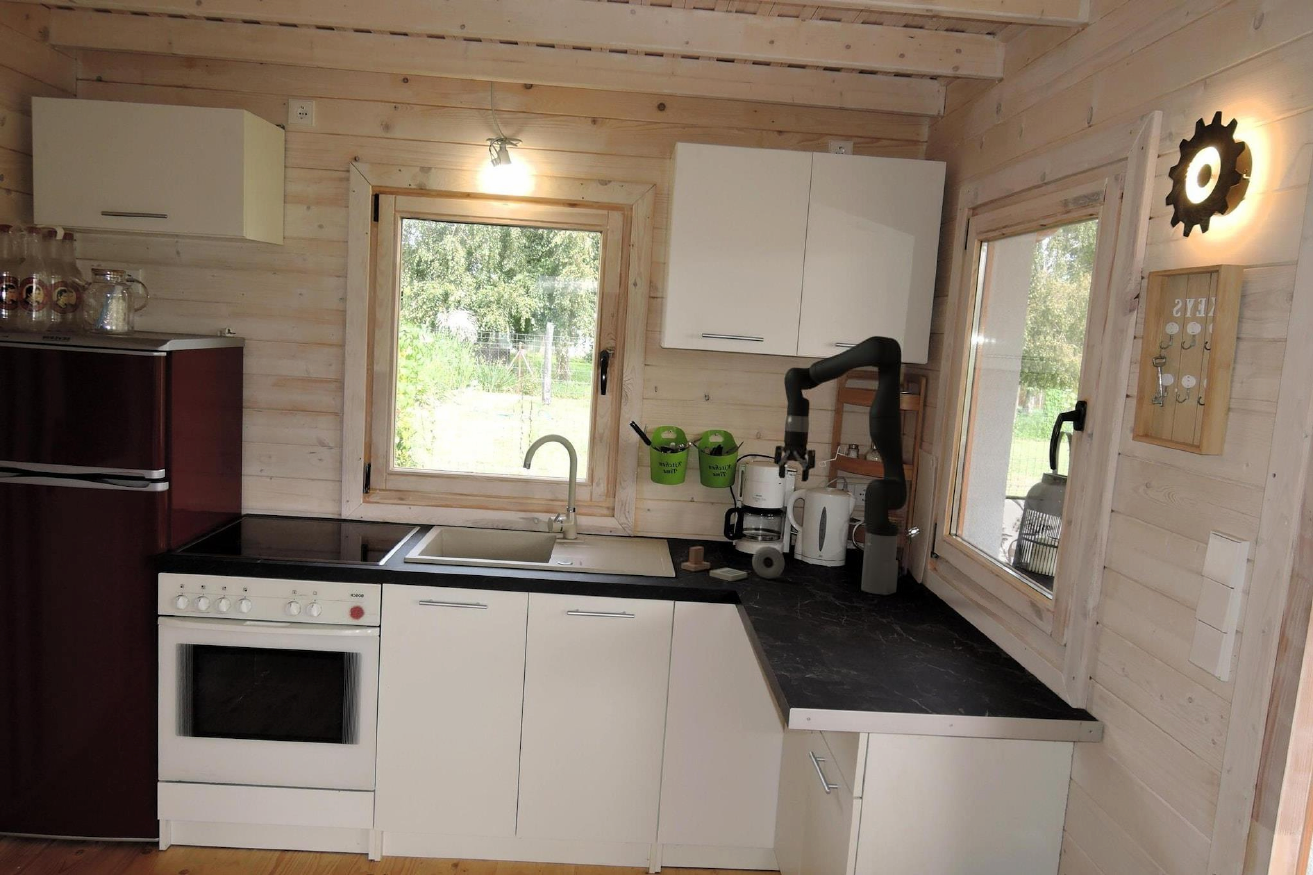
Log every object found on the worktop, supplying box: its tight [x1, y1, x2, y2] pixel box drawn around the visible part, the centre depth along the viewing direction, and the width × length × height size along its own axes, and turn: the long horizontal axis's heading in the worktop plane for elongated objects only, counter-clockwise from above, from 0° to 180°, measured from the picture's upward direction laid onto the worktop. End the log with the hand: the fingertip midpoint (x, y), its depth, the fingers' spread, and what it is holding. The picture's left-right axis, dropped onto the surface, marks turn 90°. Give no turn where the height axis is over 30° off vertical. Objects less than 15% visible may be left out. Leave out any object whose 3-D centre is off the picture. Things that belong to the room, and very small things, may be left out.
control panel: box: [709, 567, 748, 582], centre depth 280 cm, size 8×8×2 cm
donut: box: [751, 545, 786, 580], centre depth 280 cm, size 10×4×10 cm, turn 68°
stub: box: [680, 546, 711, 572], centre depth 289 cm, size 5×8×6 cm, turn 138°
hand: (793, 479), depth 300 cm, fingers open, 8 cm apart
